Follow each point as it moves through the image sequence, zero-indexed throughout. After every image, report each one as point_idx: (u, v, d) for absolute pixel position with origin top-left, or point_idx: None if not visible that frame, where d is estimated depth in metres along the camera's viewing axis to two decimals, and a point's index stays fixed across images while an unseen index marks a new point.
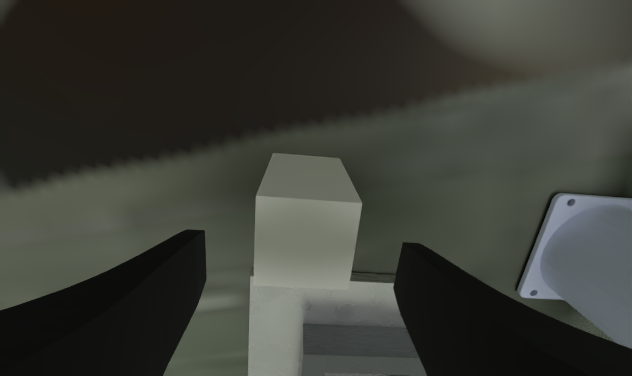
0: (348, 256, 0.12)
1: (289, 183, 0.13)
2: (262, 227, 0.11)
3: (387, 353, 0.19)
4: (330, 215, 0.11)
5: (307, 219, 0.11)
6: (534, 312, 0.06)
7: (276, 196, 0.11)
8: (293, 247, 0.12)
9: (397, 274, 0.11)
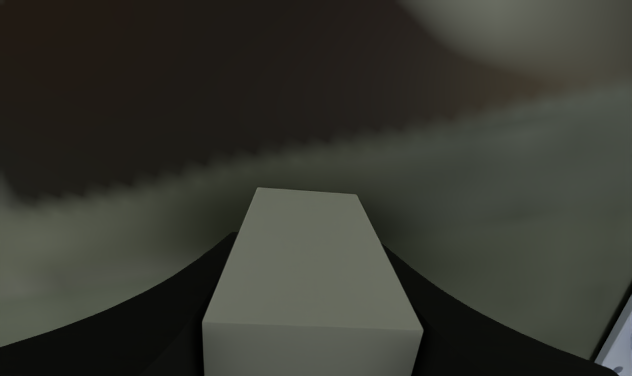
0: None
1: (277, 269, 0.07)
2: (219, 375, 0.06)
3: None
4: (358, 351, 0.06)
5: (311, 360, 0.06)
6: (467, 309, 0.06)
7: (246, 319, 0.05)
8: None
9: None
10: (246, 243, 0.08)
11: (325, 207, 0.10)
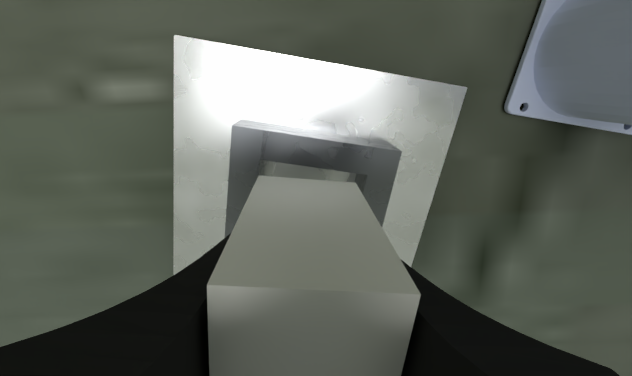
0: None
1: (278, 243, 0.07)
2: (223, 340, 0.06)
3: (340, 141, 0.15)
4: (358, 316, 0.06)
5: (312, 325, 0.06)
6: (467, 309, 0.06)
7: (249, 283, 0.05)
8: (285, 373, 0.06)
9: None
10: (248, 221, 0.08)
11: (325, 193, 0.11)
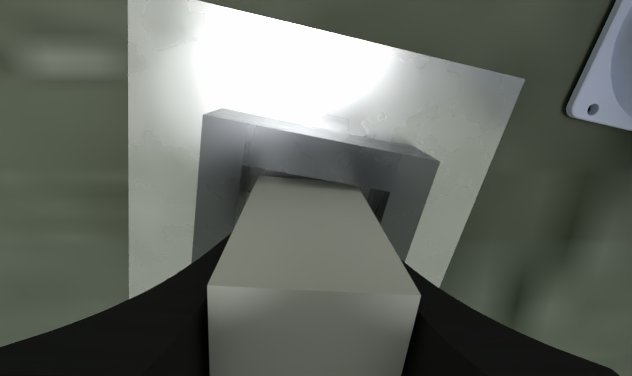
0: None
1: (279, 243, 0.07)
2: (223, 341, 0.06)
3: (356, 143, 0.11)
4: (358, 317, 0.06)
5: (312, 326, 0.06)
6: (467, 309, 0.06)
7: (250, 283, 0.05)
8: (285, 373, 0.06)
9: None
10: (248, 222, 0.08)
11: (325, 193, 0.11)
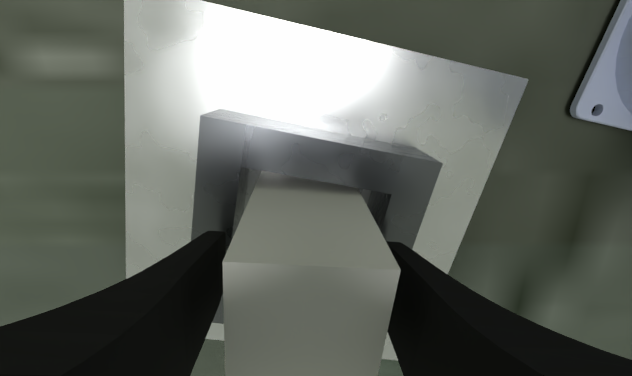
0: (375, 347, 0.08)
1: (281, 228, 0.08)
2: (236, 308, 0.07)
3: (356, 145, 0.11)
4: (348, 288, 0.07)
5: (310, 296, 0.07)
6: (504, 311, 0.06)
7: (257, 260, 0.07)
8: (287, 336, 0.07)
9: None
10: (254, 211, 0.09)
11: (323, 185, 0.12)
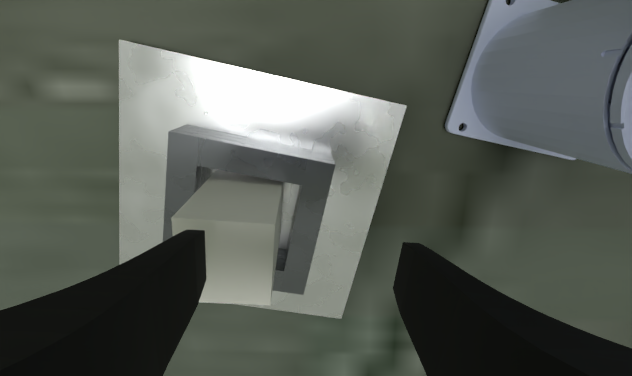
0: (267, 274, 0.13)
1: (214, 203, 0.13)
2: None
3: (276, 151, 0.16)
4: (245, 235, 0.12)
5: (223, 240, 0.12)
6: (534, 312, 0.06)
7: (192, 218, 0.12)
8: (212, 265, 0.12)
9: (397, 274, 0.11)
10: (201, 193, 0.14)
11: (258, 179, 0.17)
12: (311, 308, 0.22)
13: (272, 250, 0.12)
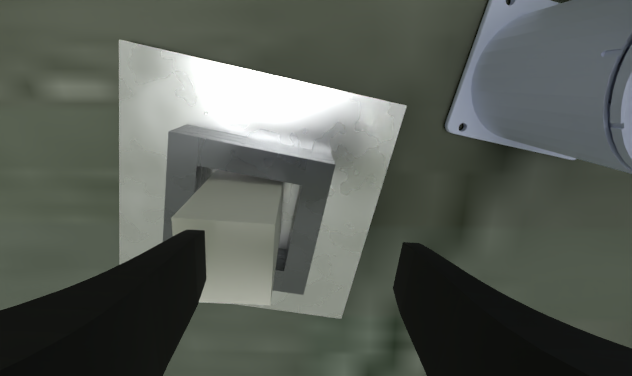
0: (267, 274, 0.13)
1: (214, 203, 0.13)
2: None
3: (276, 151, 0.16)
4: (245, 235, 0.12)
5: (223, 240, 0.12)
6: (534, 312, 0.06)
7: (192, 218, 0.12)
8: (212, 265, 0.12)
9: (397, 274, 0.11)
10: (201, 193, 0.14)
11: (258, 179, 0.17)
12: (311, 308, 0.22)
13: (272, 250, 0.12)
